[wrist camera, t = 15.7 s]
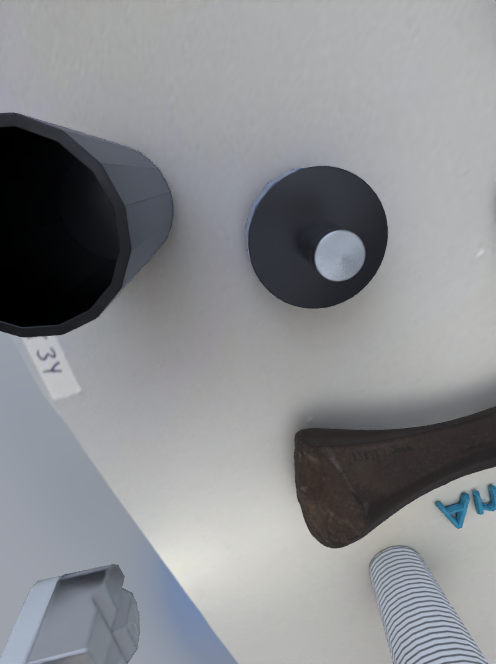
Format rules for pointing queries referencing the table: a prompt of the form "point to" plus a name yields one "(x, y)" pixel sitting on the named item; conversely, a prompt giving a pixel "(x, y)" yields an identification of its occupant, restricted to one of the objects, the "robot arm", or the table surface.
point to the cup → (418, 612)
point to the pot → (71, 224)
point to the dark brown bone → (382, 471)
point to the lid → (317, 237)
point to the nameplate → (462, 506)
